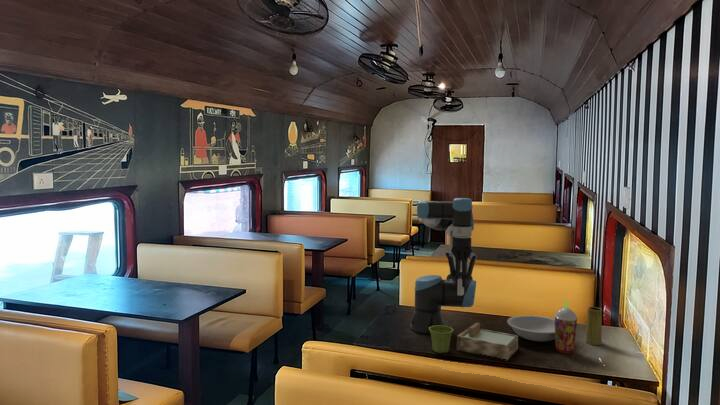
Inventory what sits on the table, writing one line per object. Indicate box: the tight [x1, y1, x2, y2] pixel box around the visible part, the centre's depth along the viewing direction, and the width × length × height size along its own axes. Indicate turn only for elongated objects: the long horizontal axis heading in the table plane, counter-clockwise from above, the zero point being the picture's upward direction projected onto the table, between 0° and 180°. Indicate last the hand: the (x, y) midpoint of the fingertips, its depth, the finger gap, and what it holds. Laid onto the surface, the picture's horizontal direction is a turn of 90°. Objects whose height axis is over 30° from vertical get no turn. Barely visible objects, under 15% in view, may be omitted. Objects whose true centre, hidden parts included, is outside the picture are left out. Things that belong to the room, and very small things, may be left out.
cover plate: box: [464, 322, 515, 346], centre depth 204 cm, size 17×12×5 cm
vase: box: [585, 306, 603, 346], centre depth 213 cm, size 6×6×14 cm
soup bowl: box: [506, 314, 555, 343], centre depth 218 cm, size 24×24×7 cm
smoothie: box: [553, 300, 578, 355], centre depth 203 cm, size 8×8×20 cm
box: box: [456, 327, 519, 361], centre depth 205 cm, size 20×14×6 cm
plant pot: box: [429, 325, 454, 354], centre depth 203 cm, size 9×9×9 cm
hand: (460, 294), depth 210 cm, fingers closed
